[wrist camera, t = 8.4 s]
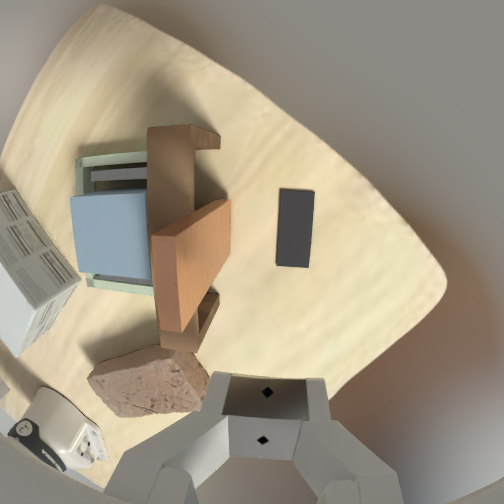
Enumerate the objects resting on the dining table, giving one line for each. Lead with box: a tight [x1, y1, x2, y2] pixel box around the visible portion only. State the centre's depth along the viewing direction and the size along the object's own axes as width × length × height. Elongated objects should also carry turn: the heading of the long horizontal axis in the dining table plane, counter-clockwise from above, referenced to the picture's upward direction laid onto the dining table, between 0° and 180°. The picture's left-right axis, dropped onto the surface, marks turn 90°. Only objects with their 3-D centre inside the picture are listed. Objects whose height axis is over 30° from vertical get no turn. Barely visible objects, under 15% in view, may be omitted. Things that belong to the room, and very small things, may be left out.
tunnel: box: [147, 124, 221, 353], centre depth 23 cm, size 16×3×8 cm, turn 178°
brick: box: [87, 343, 210, 418], centre depth 32 cm, size 17×8×5 cm, turn 117°
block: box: [70, 187, 152, 280], centre depth 25 cm, size 7×8×6 cm
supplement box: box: [0, 189, 82, 358], centre depth 27 cm, size 17×13×9 cm
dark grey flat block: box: [277, 190, 315, 268], centre depth 26 cm, size 7×3×1 cm, turn 178°
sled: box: [91, 167, 231, 333], centre depth 20 cm, size 11×14×13 cm
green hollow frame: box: [76, 151, 154, 296], centre depth 27 cm, size 14×11×2 cm
